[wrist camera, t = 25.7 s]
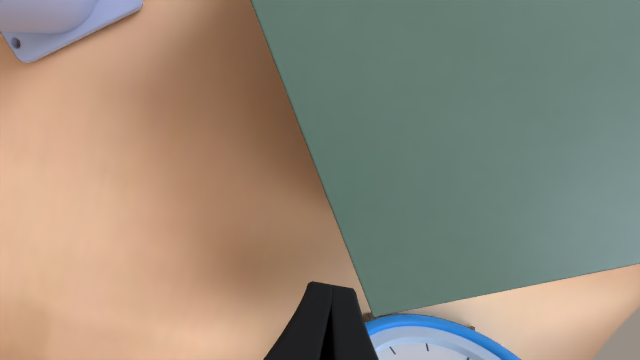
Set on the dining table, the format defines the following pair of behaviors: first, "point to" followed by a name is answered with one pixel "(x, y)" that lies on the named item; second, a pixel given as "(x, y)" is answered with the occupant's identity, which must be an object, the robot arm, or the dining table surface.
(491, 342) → the alarm clock
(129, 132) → the dining table surface
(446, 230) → the cabinet
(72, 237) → the dining table surface
